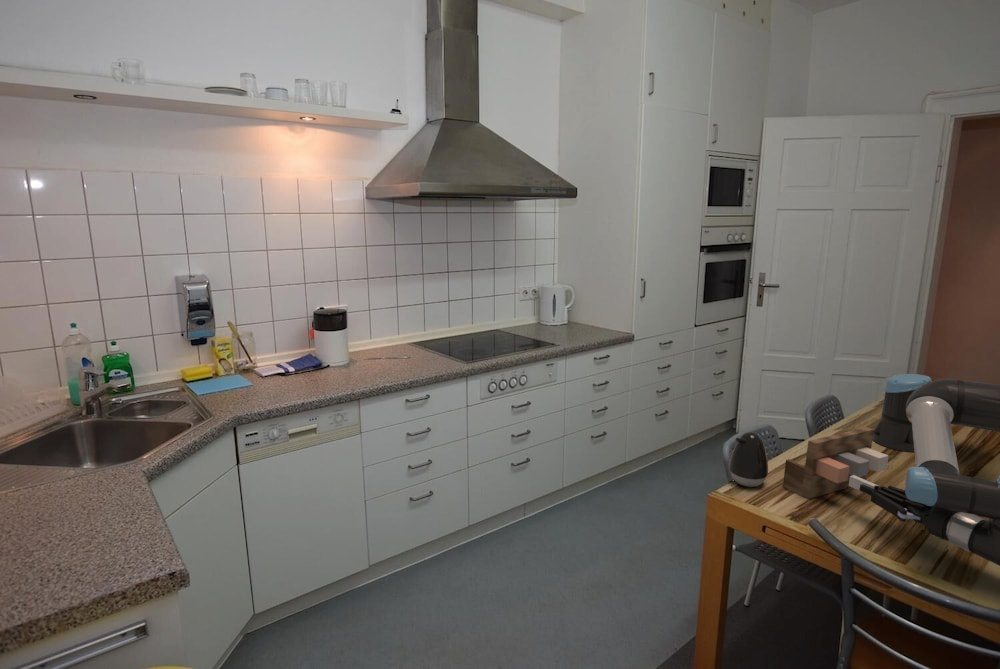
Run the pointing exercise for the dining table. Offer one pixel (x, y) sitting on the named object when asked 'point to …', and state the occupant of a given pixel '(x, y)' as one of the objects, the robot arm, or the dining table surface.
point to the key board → (804, 476)
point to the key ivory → (873, 458)
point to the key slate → (854, 463)
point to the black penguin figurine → (749, 460)
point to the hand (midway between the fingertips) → (851, 480)
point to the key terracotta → (832, 469)
